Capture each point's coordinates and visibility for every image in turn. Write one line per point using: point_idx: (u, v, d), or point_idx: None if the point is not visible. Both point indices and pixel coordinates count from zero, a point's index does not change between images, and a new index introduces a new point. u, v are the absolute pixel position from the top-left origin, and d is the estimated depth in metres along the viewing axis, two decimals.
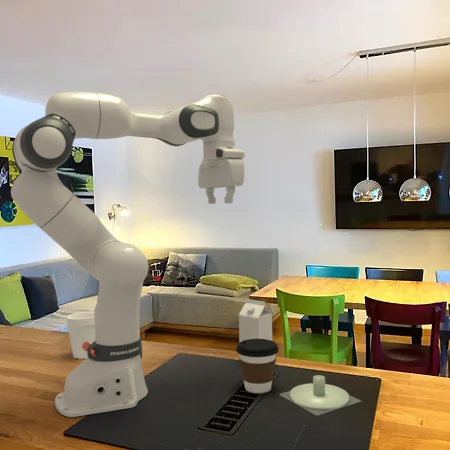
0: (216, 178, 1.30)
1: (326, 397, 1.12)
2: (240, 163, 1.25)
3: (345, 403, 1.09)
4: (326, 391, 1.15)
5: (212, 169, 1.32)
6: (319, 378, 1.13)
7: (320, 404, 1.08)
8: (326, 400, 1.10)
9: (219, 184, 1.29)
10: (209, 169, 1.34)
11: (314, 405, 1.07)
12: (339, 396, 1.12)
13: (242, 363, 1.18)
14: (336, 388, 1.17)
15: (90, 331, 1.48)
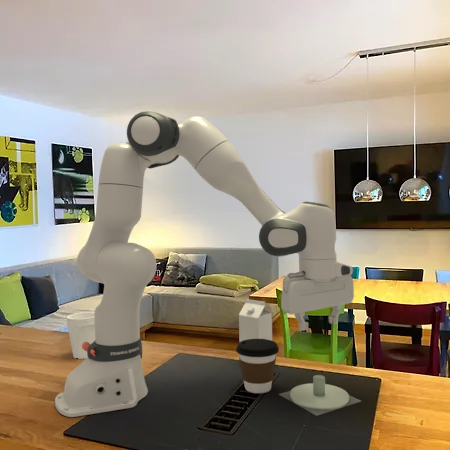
0: (327, 298, 1.12)
1: (326, 397, 1.12)
2: None
3: (345, 403, 1.09)
4: (326, 391, 1.15)
5: (318, 288, 1.11)
6: (319, 378, 1.13)
7: (320, 404, 1.08)
8: (326, 400, 1.10)
9: (332, 304, 1.13)
10: (312, 288, 1.10)
11: (314, 405, 1.07)
12: (339, 396, 1.12)
13: (242, 363, 1.18)
14: (336, 388, 1.17)
15: (90, 331, 1.48)
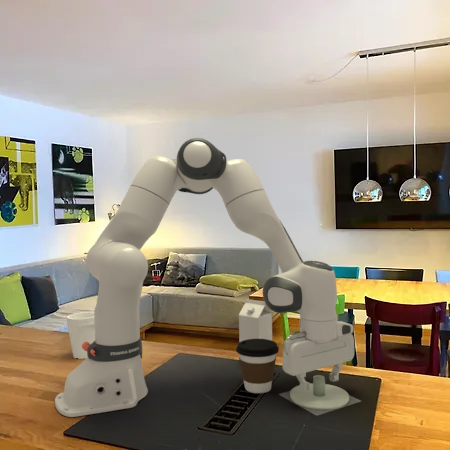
0: (328, 357, 1.13)
1: (326, 397, 1.12)
2: None
3: (345, 403, 1.09)
4: (326, 391, 1.15)
5: (319, 348, 1.11)
6: (319, 378, 1.13)
7: (320, 404, 1.08)
8: (326, 400, 1.10)
9: (333, 363, 1.14)
10: (313, 349, 1.10)
11: (314, 405, 1.07)
12: (339, 396, 1.12)
13: (242, 363, 1.18)
14: (336, 388, 1.17)
15: (90, 331, 1.48)
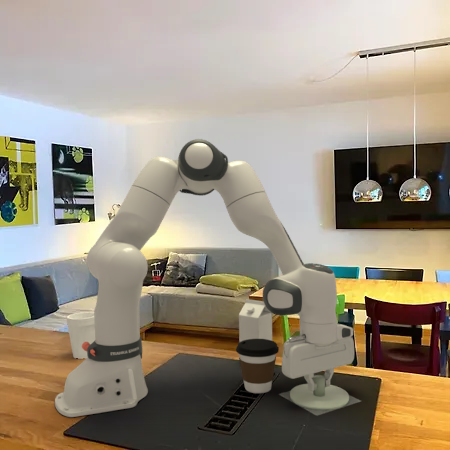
0: (327, 360, 1.12)
1: (326, 397, 1.12)
2: None
3: (345, 403, 1.09)
4: (326, 391, 1.15)
5: (318, 351, 1.11)
6: (319, 378, 1.13)
7: (320, 404, 1.08)
8: (326, 400, 1.10)
9: (333, 366, 1.13)
10: (313, 352, 1.10)
11: (314, 405, 1.07)
12: (339, 396, 1.12)
13: (242, 363, 1.18)
14: (336, 388, 1.17)
15: (90, 331, 1.48)
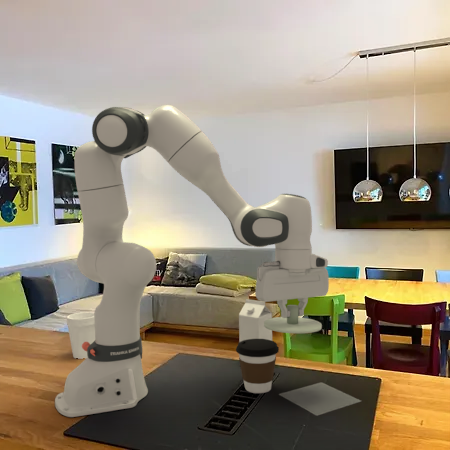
0: (301, 289, 1.14)
1: (299, 324, 1.13)
2: None
3: (317, 329, 1.10)
4: (300, 321, 1.17)
5: (292, 278, 1.13)
6: (293, 306, 1.14)
7: (292, 328, 1.09)
8: (298, 326, 1.12)
9: (306, 295, 1.15)
10: (287, 278, 1.12)
11: (286, 329, 1.09)
12: (312, 324, 1.14)
13: (242, 363, 1.18)
14: (310, 320, 1.18)
15: (90, 331, 1.48)
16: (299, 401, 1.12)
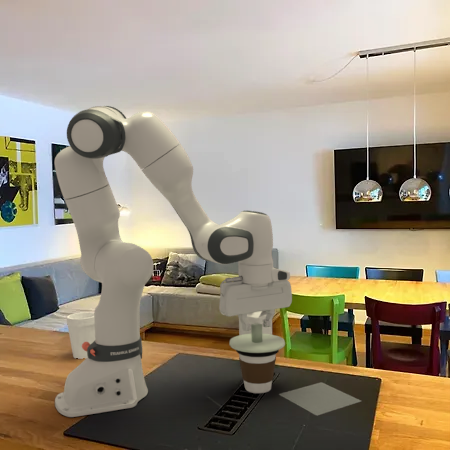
0: (264, 302, 1.18)
1: (262, 343, 1.18)
2: None
3: (279, 347, 1.15)
4: (264, 339, 1.21)
5: (255, 292, 1.17)
6: (256, 325, 1.19)
7: (255, 348, 1.14)
8: (262, 345, 1.16)
9: (270, 307, 1.19)
10: (249, 292, 1.16)
11: (249, 348, 1.14)
12: (275, 342, 1.18)
13: (242, 363, 1.18)
14: (275, 336, 1.23)
15: (90, 331, 1.48)
16: (299, 401, 1.12)
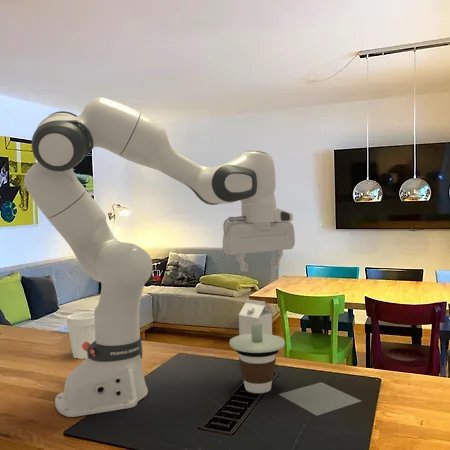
0: (267, 242, 1.19)
1: (262, 343, 1.18)
2: None
3: (279, 347, 1.15)
4: (264, 339, 1.21)
5: (258, 232, 1.18)
6: (256, 325, 1.19)
7: (255, 348, 1.14)
8: (261, 345, 1.16)
9: (273, 248, 1.20)
10: (252, 232, 1.17)
11: (249, 348, 1.14)
12: (275, 342, 1.18)
13: (242, 363, 1.18)
14: (275, 336, 1.23)
15: (90, 331, 1.48)
16: (299, 401, 1.12)
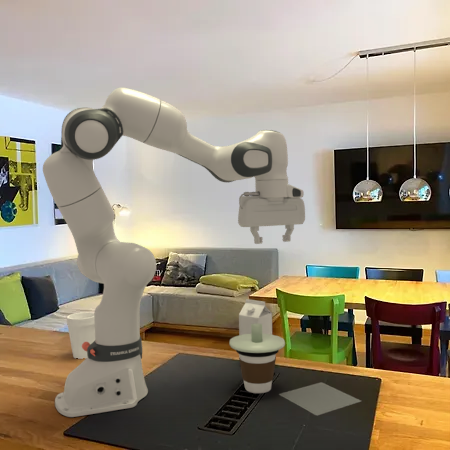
0: (280, 217, 1.26)
1: (262, 343, 1.18)
2: None
3: (279, 347, 1.15)
4: (264, 339, 1.21)
5: (271, 207, 1.25)
6: (256, 325, 1.19)
7: (254, 348, 1.14)
8: (261, 345, 1.16)
9: (285, 223, 1.27)
10: (266, 206, 1.24)
11: (248, 348, 1.14)
12: (275, 342, 1.18)
13: (242, 363, 1.18)
14: (275, 336, 1.23)
15: (90, 331, 1.48)
16: (299, 401, 1.12)
